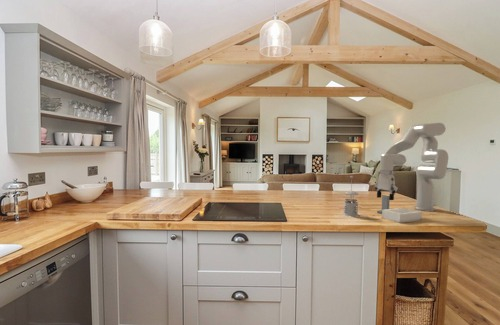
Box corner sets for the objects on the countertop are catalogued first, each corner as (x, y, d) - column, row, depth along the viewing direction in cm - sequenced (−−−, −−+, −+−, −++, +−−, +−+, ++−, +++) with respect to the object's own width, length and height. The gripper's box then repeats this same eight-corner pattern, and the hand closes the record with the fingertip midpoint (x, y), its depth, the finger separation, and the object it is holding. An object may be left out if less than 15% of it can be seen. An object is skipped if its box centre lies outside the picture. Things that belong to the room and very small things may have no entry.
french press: (341, 215, 164) (342, 175, 163) (344, 211, 174) (345, 174, 173) (358, 217, 160) (359, 176, 159) (360, 213, 170) (361, 175, 169)
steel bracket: (388, 211, 176) (388, 194, 176) (393, 213, 172) (394, 195, 172) (377, 213, 172) (377, 195, 172) (382, 214, 169) (382, 196, 168)
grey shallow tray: (403, 215, 166) (403, 207, 166) (421, 220, 155) (421, 211, 154) (381, 217, 159) (382, 209, 159) (399, 222, 148) (399, 214, 148)
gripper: (402, 173, 165) (401, 200, 165) (379, 171, 181) (378, 196, 181) (393, 173, 162) (392, 201, 162) (371, 171, 178) (370, 196, 178)
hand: (385, 198), depth 172 cm, fingers open, 9 cm apart
